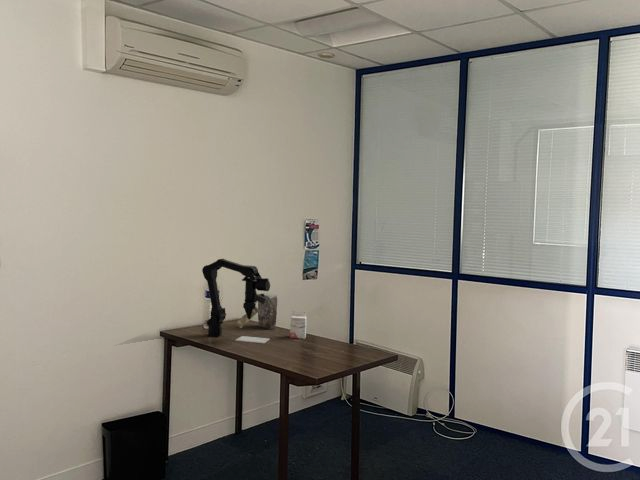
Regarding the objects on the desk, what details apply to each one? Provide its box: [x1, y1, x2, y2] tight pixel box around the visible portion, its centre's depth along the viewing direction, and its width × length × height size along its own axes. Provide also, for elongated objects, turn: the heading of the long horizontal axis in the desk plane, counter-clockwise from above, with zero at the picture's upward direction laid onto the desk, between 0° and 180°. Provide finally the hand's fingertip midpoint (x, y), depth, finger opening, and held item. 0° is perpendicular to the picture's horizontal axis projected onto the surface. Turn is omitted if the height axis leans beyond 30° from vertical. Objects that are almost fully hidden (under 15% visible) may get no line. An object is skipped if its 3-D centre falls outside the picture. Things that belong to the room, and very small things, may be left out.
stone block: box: [257, 292, 278, 330], centre depth 367 cm, size 13×7×20 cm, turn 44°
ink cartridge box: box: [289, 309, 307, 340], centre depth 344 cm, size 9×5×15 cm, turn 84°
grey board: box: [235, 335, 271, 344], centre depth 334 cm, size 16×10×1 cm, turn 77°
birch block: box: [236, 305, 259, 329], centre depth 333 cm, size 4×5×13 cm
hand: (249, 318), depth 333 cm, fingers closed on birch block, 5 cm apart
